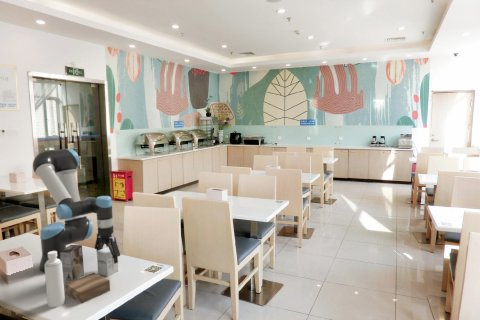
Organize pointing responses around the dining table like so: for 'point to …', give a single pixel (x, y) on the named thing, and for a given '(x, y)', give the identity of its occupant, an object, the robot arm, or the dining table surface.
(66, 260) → the coffee box
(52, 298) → the white bottle
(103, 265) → the supplement box
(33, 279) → the dining table surface
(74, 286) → the walnut block
